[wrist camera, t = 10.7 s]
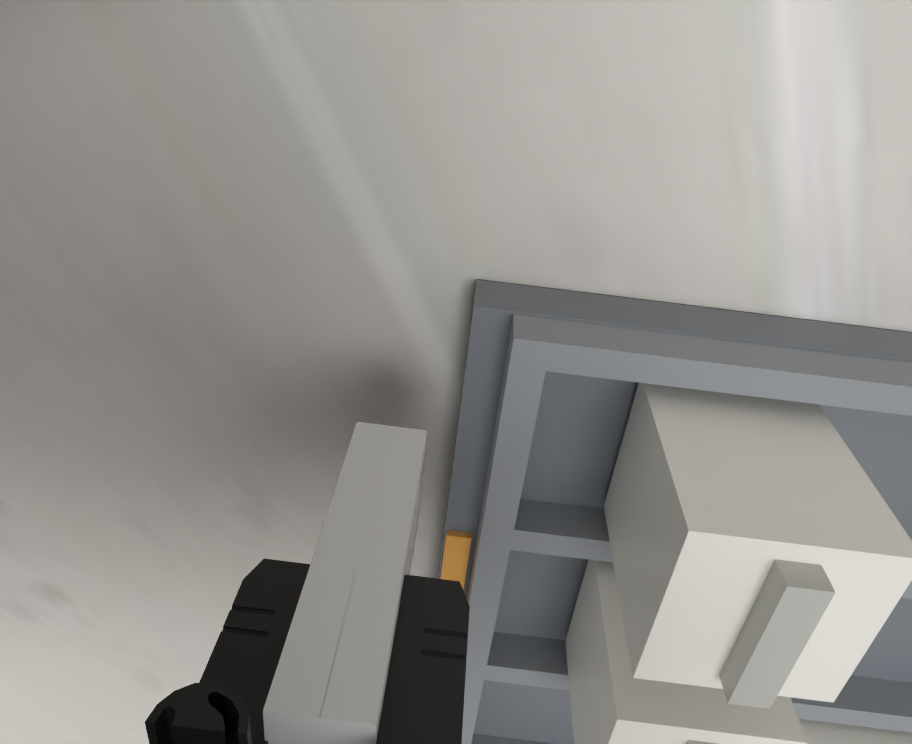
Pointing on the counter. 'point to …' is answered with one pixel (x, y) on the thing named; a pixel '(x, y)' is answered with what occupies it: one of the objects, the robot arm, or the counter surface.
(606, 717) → the tab
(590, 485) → the switch bank
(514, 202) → the counter surface
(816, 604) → the tab
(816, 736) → the tab
